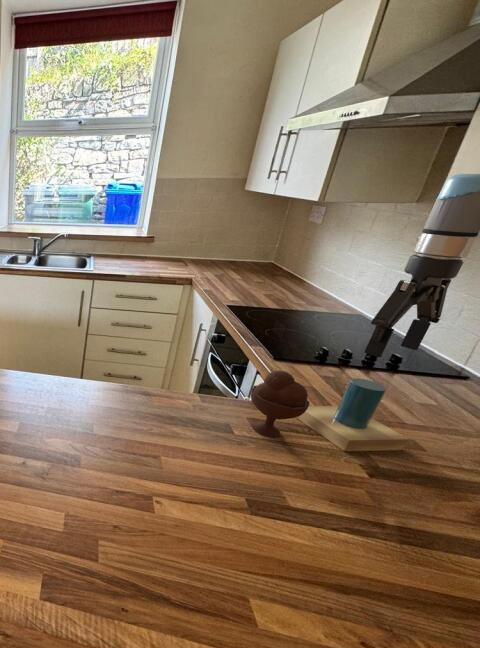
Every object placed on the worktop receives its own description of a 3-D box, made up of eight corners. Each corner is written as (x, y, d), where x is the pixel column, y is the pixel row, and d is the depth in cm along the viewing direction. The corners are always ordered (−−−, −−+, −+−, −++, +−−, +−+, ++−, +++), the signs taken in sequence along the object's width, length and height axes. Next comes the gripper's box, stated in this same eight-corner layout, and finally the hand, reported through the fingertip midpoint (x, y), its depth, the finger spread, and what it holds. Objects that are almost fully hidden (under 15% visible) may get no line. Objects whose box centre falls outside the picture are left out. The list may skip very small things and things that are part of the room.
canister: (374, 428, 92) (394, 390, 88) (349, 429, 91) (368, 391, 87) (350, 414, 97) (368, 378, 93) (326, 414, 97) (343, 378, 93)
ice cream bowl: (235, 431, 95) (255, 374, 89) (245, 412, 102) (264, 359, 96) (290, 451, 88) (316, 391, 82) (296, 430, 96) (320, 374, 90)
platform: (402, 450, 90) (409, 439, 88) (344, 451, 89) (349, 440, 87) (345, 415, 102) (350, 405, 101) (293, 416, 101) (297, 406, 100)
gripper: (446, 250, 89) (402, 339, 98) (377, 255, 81) (336, 351, 90) (496, 257, 83) (444, 351, 91) (426, 262, 75) (377, 365, 83)
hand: (390, 351), depth 90 cm, fingers open, 13 cm apart
